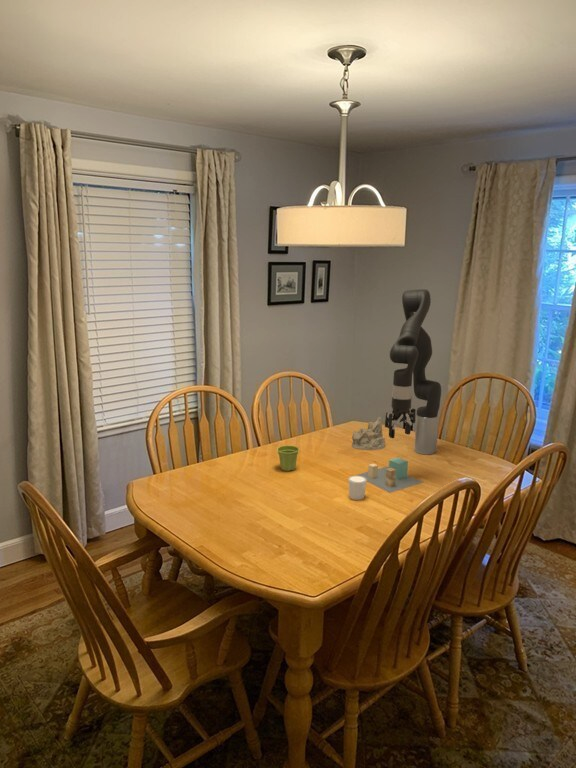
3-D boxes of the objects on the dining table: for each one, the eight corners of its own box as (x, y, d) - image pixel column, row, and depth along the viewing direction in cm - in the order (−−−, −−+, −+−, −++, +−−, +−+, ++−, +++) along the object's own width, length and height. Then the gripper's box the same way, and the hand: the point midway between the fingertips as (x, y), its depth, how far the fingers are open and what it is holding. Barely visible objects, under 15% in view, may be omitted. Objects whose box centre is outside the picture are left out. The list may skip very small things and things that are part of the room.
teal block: (397, 472, 229) (398, 457, 228) (407, 476, 225) (407, 461, 223) (388, 475, 226) (389, 459, 225) (397, 479, 222) (398, 463, 221)
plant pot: (273, 470, 233) (273, 451, 231) (282, 463, 241) (282, 444, 239) (294, 474, 230) (294, 454, 228) (302, 466, 238) (302, 446, 236)
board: (387, 468, 236) (388, 455, 235) (423, 484, 220) (424, 470, 219) (354, 477, 226) (355, 463, 225) (389, 495, 210) (390, 480, 209)
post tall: (390, 483, 218) (391, 467, 217) (395, 485, 216) (395, 469, 215) (385, 484, 217) (386, 469, 215) (390, 487, 215) (390, 471, 213)
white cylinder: (367, 494, 211) (368, 476, 209) (364, 501, 205) (364, 483, 203) (349, 491, 213) (350, 474, 212) (345, 498, 207) (346, 481, 205)
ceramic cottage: (386, 439, 272) (385, 410, 268) (384, 452, 257) (383, 421, 253) (354, 439, 276) (353, 410, 272) (350, 451, 260) (349, 421, 256)
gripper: (407, 391, 225) (405, 430, 229) (381, 396, 217) (379, 436, 221) (421, 395, 219) (419, 435, 223) (395, 400, 211) (393, 441, 215)
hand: (399, 435), depth 222 cm, fingers open, 8 cm apart
